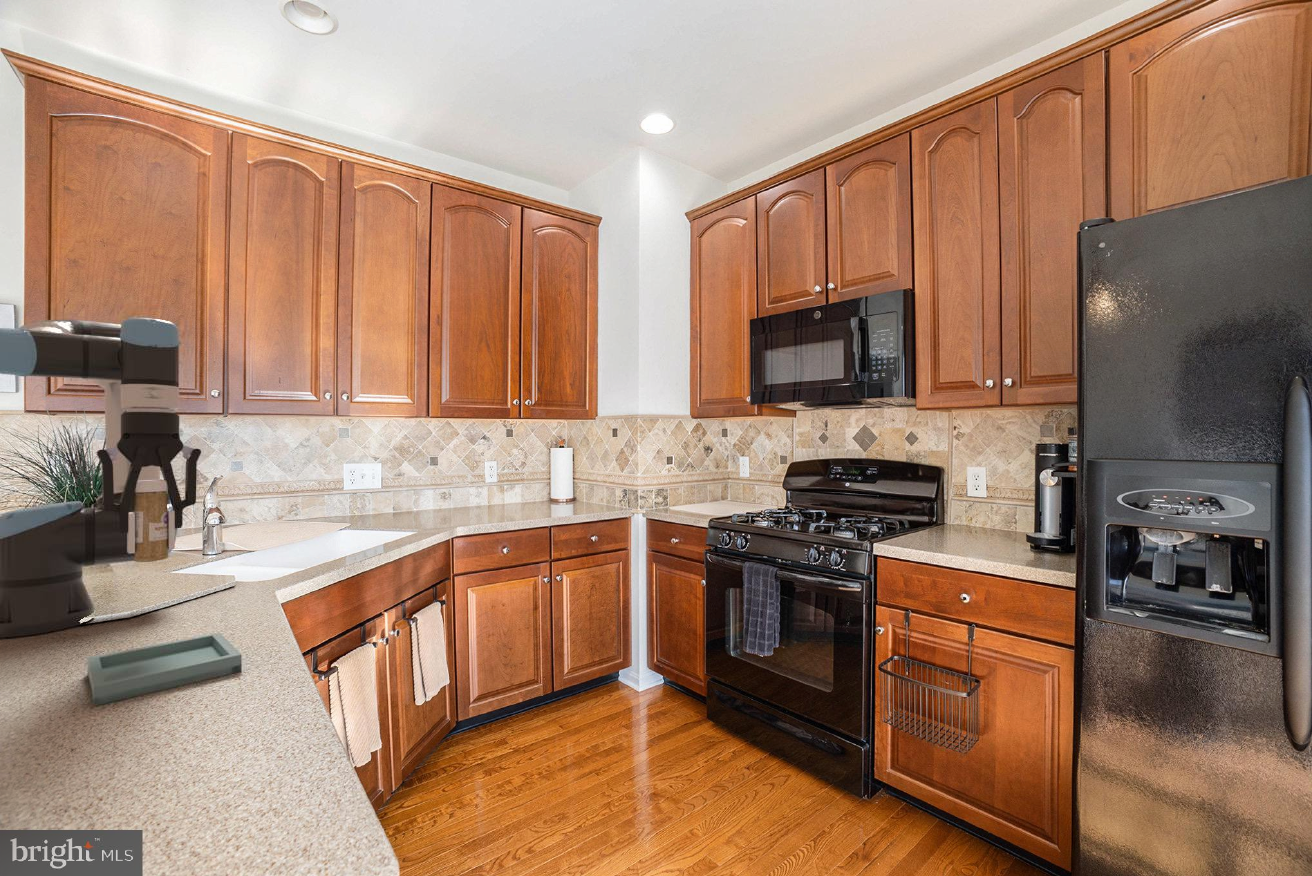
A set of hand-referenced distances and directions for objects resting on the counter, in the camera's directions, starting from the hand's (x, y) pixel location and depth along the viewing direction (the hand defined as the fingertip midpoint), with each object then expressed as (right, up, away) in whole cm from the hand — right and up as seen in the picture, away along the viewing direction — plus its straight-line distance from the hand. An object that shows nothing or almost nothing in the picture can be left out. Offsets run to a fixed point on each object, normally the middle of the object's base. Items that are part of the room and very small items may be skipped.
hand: (151, 550), depth 99 cm
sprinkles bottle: (0, -2, 0) cm, 2 cm away
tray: (+12, -16, -11) cm, 23 cm away
